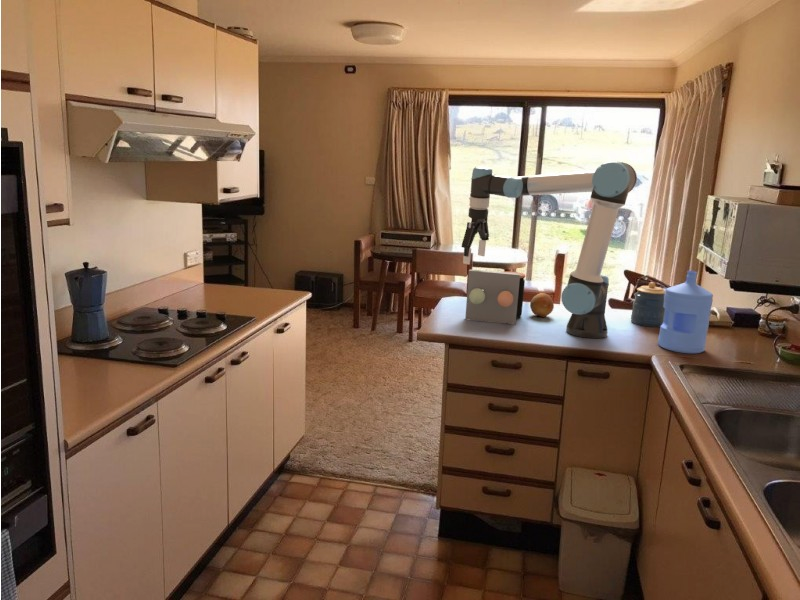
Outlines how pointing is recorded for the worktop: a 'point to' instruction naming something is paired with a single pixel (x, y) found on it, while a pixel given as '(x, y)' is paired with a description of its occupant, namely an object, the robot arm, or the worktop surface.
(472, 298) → the sage button
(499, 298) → the terracotta button
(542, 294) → the onion
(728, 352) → the worktop surface
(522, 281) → the coffee jar
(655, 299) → the canister
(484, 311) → the panel
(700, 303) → the water jug
